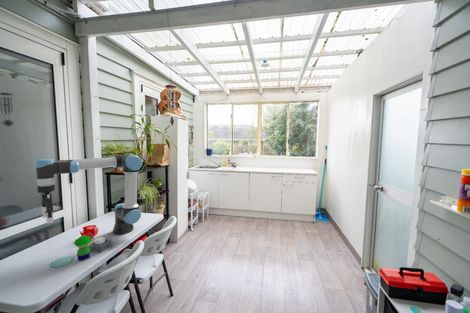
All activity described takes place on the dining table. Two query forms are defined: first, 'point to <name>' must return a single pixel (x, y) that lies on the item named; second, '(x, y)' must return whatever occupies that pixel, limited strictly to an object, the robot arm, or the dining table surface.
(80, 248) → the toy
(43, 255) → the dining table surface
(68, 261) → the pad
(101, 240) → the dome
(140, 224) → the dining table surface
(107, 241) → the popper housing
